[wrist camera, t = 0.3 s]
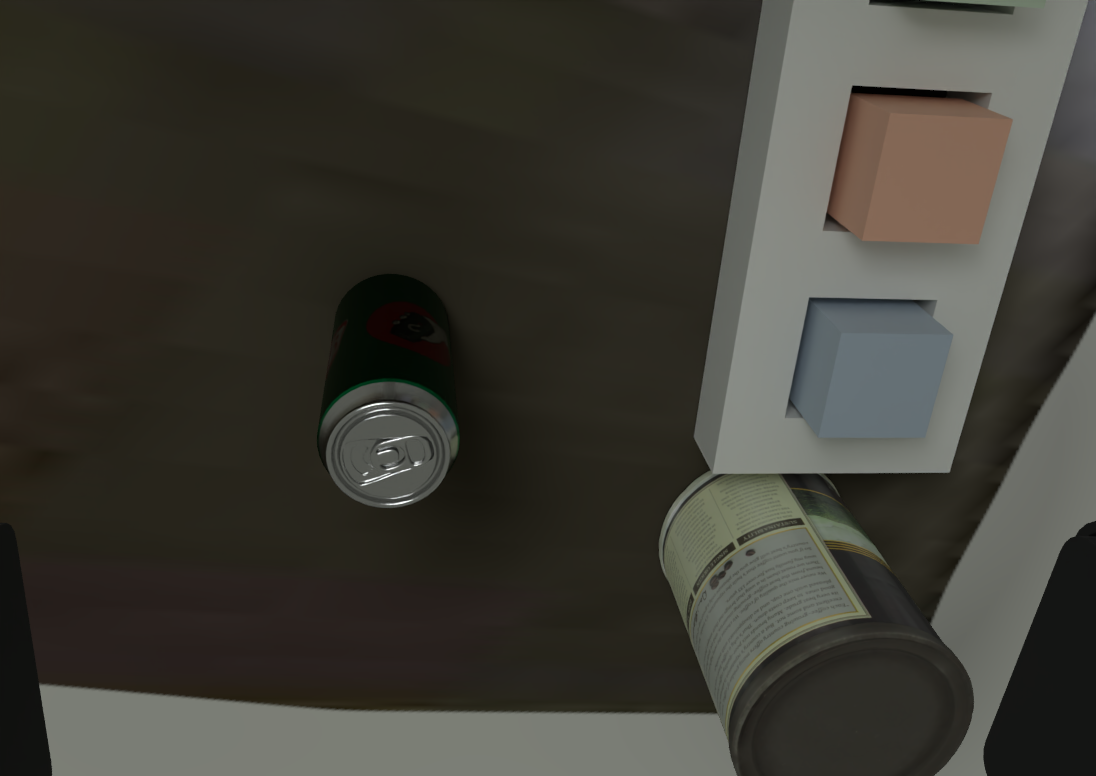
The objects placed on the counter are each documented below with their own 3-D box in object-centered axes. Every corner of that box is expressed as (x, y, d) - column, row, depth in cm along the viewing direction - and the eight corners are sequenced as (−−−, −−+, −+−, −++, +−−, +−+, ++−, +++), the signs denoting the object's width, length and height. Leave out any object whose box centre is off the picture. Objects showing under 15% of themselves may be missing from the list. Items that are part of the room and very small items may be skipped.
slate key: (807, 296, 45) (841, 332, 42) (911, 299, 46) (953, 334, 42) (787, 395, 47) (818, 437, 44) (886, 396, 48) (925, 437, 45)
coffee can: (862, 452, 52) (1006, 633, 40) (821, 609, 57) (938, 815, 44) (671, 449, 51) (758, 637, 38) (643, 611, 55) (714, 826, 43)
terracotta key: (848, 92, 41) (890, 112, 38) (961, 98, 42) (1013, 119, 38) (824, 211, 43) (862, 240, 40) (932, 214, 44) (978, 244, 41)
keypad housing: (805, -271, 37) (842, -284, 34) (1100, -238, 39) (1161, -248, 36) (693, 436, 50) (712, 473, 47) (917, 437, 52) (949, 472, 49)
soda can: (322, 281, 44) (296, 409, 34) (434, 258, 44) (444, 379, 34) (351, 381, 47) (335, 530, 36) (458, 359, 47) (474, 501, 36)
